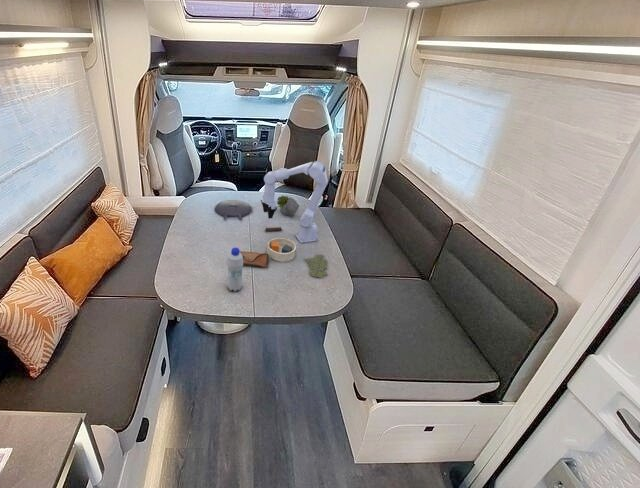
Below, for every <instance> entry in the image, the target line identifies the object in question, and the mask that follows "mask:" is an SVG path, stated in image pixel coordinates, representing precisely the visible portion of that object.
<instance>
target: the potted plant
mask: <svg viewBox="0 0 640 488" xmlns="http://www.w3.org/2000/svg"><path fill="white" fill-rule="evenodd" d="M276 204H277V206H278V208H279V211H280V213H281V214H283V215H284V216H288V217H289V216H292V217H293V216H294V215H295V214H296V213H297V211H298V210H299V207H300V204H299V203H298V202H297V200H295V198H293V197H290V196H289V195H287V194H285V195H284V194H282V195H280V196H278V198H277V199H276Z"/></svg>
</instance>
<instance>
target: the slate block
mask: <svg viewBox="0 0 640 488" xmlns="http://www.w3.org/2000/svg"><path fill="white" fill-rule="evenodd" d="M289 252H292V247H290V246H287V245H285V246H284V247H283V248H282V253H289Z"/></svg>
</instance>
